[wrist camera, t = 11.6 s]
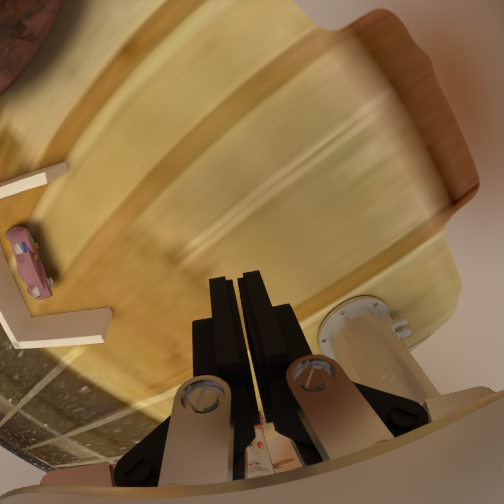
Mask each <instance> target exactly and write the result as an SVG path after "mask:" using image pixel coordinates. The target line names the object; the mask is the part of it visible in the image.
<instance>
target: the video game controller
mask: <svg viewBox="0 0 504 504" xmlns="http://www.w3.org/2000/svg"><path fill="white" fill-rule="evenodd" d="M5 237H6V238H7V239H8V240H10V241H11V245H12V249H13V253H14V256H15V258H16V262H17V269H18V273H19V275H20V277H21V279H22V280H23V281H24V282H25V283H26V285H27V287H28V288H27V291H28V293H29V294H30V295H32V296H33V297H34V298H35V299H45V298H48V297H51V296H52V291H51V284H52V286H53V280H52V279H51V278H50V277H49V279H50V280H49V279H48V278H47V276H46V272H45V269H44V266H43V263H42V261H41V260H39V261H37V262H36V260H35V258H34V256H35V255H37V254H38V251H37V248H38V244H37V243H35V241H34V239H33V238H32V237H31V234H30V232H29V230H28V228H23V227H20V226H14V227H11V228H10V229H8V230H7V231H6V233H5Z"/></svg>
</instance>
